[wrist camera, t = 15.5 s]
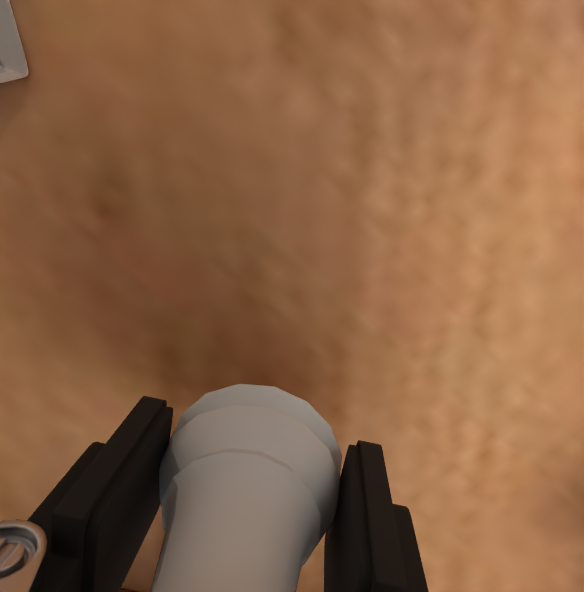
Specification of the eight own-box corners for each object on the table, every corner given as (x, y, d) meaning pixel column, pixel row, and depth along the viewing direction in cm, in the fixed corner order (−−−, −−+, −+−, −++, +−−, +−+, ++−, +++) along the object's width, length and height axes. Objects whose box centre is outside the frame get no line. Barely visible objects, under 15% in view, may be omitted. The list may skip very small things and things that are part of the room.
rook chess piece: (144, 459, 12) (-149, 938, 5) (236, 340, 11) (41, 724, 4) (275, 546, 13) (200, 1102, 5) (376, 440, 12) (471, 965, 4)
